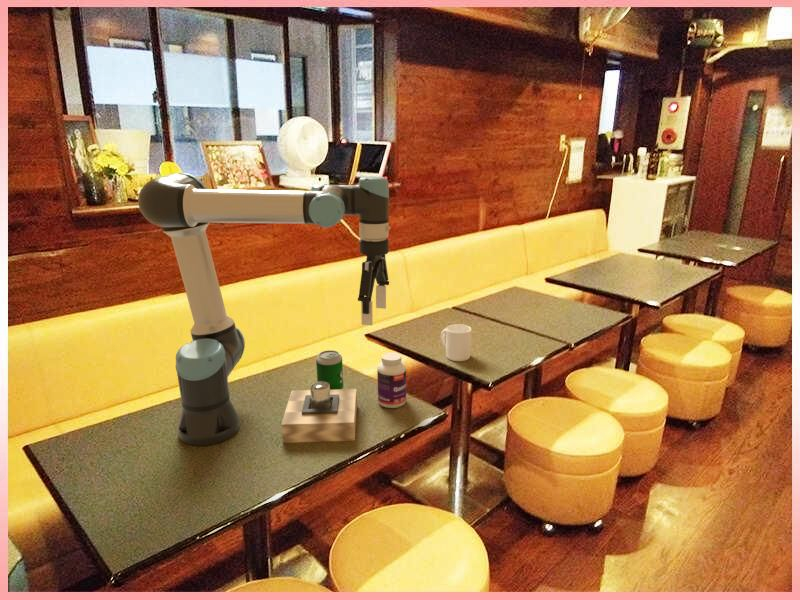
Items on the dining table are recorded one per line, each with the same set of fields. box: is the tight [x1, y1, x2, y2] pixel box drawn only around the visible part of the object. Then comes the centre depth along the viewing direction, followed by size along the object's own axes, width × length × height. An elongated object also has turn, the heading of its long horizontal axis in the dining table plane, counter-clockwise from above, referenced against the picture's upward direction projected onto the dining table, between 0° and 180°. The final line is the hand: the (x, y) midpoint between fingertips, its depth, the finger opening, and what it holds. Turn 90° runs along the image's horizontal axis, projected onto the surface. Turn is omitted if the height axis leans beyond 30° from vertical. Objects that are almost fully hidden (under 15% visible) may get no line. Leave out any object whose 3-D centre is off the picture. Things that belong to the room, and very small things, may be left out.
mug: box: [440, 323, 472, 362], centre depth 189 cm, size 12×8×10 cm
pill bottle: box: [376, 352, 407, 409], centre depth 157 cm, size 8×8×14 cm
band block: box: [280, 388, 358, 444], centre depth 148 cm, size 18×18×6 cm
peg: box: [309, 381, 331, 409], centre depth 147 cm, size 5×5×6 cm
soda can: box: [315, 349, 344, 390], centre depth 165 cm, size 8×8×12 cm
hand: (374, 316), depth 151 cm, fingers open, 13 cm apart
